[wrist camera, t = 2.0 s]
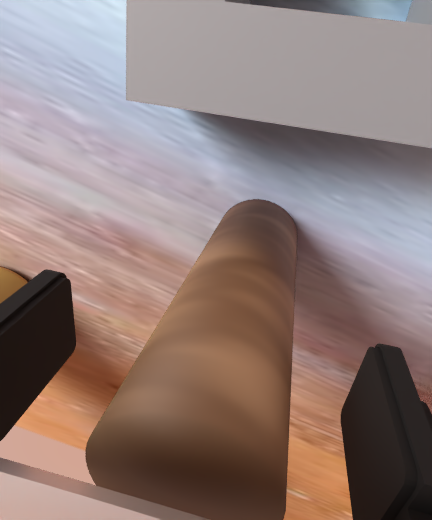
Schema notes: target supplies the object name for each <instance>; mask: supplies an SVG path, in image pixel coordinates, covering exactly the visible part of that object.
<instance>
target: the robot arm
mask: <svg viewBox="0 0 432 520" xmlns="http://www.w3.org/2000/svg"><path fill="white" fill-rule="evenodd" d="M75 346H76V336H75V325H74V314H73V303H72V292H71V283H70V280H69V279H67V278H66V275H65V274H64V273H61V272H56V271H52V270H44V271H42V272H41V273H40V274H38V275H37V276H36V277H34V278H33V279H32V280H30V281H29V282H28V283H27V284H25V285H24V286H23V287H21V288H20V289H19V290H17V291H16V292H15V293H13V294H12V295H11V296H10V297H8V298H7V299H6V300H4V301H3V302H2V303H0V441H1V440H2V439H3V438H4V437H5V436H6V434H7V433H8V432H9V431H10V429H11V428H12V427H13V426H14V425H15V423H16V422H17V421H18V420H19V418H20V417H21V416H22V415H23V414H24V412H25V411H26V410H27V409H28V407H29V406H30V405H31V404H32V402H33V401H34V400H35V399H36V398H37V396H38V395H39V394H40V393H41V391H42V390H43V389H44V388H45V386H46V385H47V384H48V383H49V382H50V380H51V379H52V378H53V377H54V375H55V374H56V373H57V372H58V370H59V369H60V368H61V367H62V366H63V364H64V363H65V362H66V361H67V359H68V358H69V357H70V356H71V354H72V353H73V351H74V349H75ZM341 427H342V435H343V443H344V451H345V459H346V467H347V475H348V483H349V491H350V499H351V507H352V515H353V520H432V415H431V412H430V410H429V408H428V406H427V404H426V403H424V402H423V401H420V398H419V396H418V393H417V390H416V388H415V385H414V382H413V380H412V377H411V374H410V372H409V369H408V366H407V364H406V361H405V358H404V356H403V353H402V351H401V349H400V348H398V347H393V346H389V345H384V344H380V343H379V344H377V345H376V346H375V348H374V347H369V349H368V350H367V353H366V355H365V357H364V360H363V362H362V364H361V366H360V369H359V371H358V373H357V376H356V378H355V380H354V382H353V385H352V387H351V389H350V392H349V394H348V396H347V399H346V401H345V403H344V405H343V408H342V411H341ZM0 520H209V519H206V518H203V517H200V516H196V515H193V514H190V513H186V512H183V511H180V510H176V509H173V508H170V507H166V506H163V505H160V504H156V503H153V502H149V501H146V500H143V499H139V498H136V497H133V496H129V495H126V494H123V493H119V492H116V491H112V490H109V489H106V488H102V487H99V486H95V485H92V484H89V483H85V482H82V481H79V480H75V479H71V478H69V477H65V476H62V475H58V474H55V473H51V472H48V471H44V470H41V469H38V468H34V467H30V466H27V465H24V464H20V463H17V462H14V461H10V460H7V459H3V458H0Z"/></svg>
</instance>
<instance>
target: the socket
mask: <svg viewBox="0 0 432 520" xmlns="http://www.w3.org/2000/svg"><path fill="white" fill-rule="evenodd" d="M126 100H129V101H135V102H141V103H148V104H154V105H160V106H167V107H173V108H179V109H186V110H192V111H198V112H205V113H211V114H217V115H224V116H230V117H236V118H243V119H249V120H255V121H262V122H268V123H274V124H281V125H287V126H293V127H300V128H306V129H312V130H319V131H325V132H331V133H338V134H344V135H350V136H357V137H363V138H369V139H376V140H382V141H388V142H395V143H401V144H407V145H414V146H420V147H426V148H432V0H412V3H411V6H410V10H409V13H408V16H407V19H406V22H402V21H393V20H385V19H376V18H367V17H358V16H349V15H340V14H331V13H322V12H313V11H305V10H296V9H287V8H278V7H269V6H260V5H251V4H250V0H127V25H126Z"/></svg>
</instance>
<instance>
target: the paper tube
mask: <svg viewBox="0 0 432 520" xmlns="http://www.w3.org/2000/svg"><path fill="white" fill-rule="evenodd" d="M27 283H28V282H27V281H26V280H25V279H24V278H22V277H21V276H20V275H18V274H17V273H15V272H13V271H11V270H9V269H6V268H3V267H0V303H2V302H3V301H4V300H6V299H7V298H8V297H10V296H11V295H12V294H13V293H15V292H16V291H17V290H19V289H20V288H21V287H23V286H24V285H25V284H27Z"/></svg>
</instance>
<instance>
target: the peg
mask: <svg viewBox="0 0 432 520" xmlns="http://www.w3.org/2000/svg"><path fill="white" fill-rule="evenodd" d="M296 256H297V230H296V226H295V224H294V222H293V220H292V218H291V217H290V215H289V214H288V213H287V212H286V211H285V210H284V209H283V208H281V207H280V206H278V205H277V204H275V203H272V202H270V201H266V200H260V199H253V200H247V201H243V202H241V203H238V204H236V205H235V206H233V207H232V208H231V209H229V211H228V212H227V213H226V214H225V215H224V217H223V218H222V220H221V222H220V223H219V225H218V227H217V228H216V230H215V231H214V233H213V235H212V236H211V238H210V240H209V241H208V243H207V245H206V246H205V248H204V250H203V251H202V253H201V254H200V256H199V258H198V259H197V261H196V263H195V264H194V266H193V268H192V269H191V271H190V273H189V274H188V276H187V278H186V279H185V281H184V282H183V284H182V286H181V287H180V289H179V291H178V292H177V294H176V296H175V297H174V299H173V301H172V302H171V304H170V305H169V307H168V309H167V310H166V312H165V314H164V315H163V317H162V319H161V320H160V322H159V324H158V325H157V327H156V329H155V330H154V332H153V333H152V335H151V337H150V338H149V340H148V342H147V343H146V345H145V347H144V348H143V350H142V352H141V353H140V355H139V356H138V358H137V360H136V361H135V363H134V365H133V366H132V368H131V370H130V371H129V373H128V375H127V376H126V378H125V379H124V381H123V383H122V384H121V386H120V388H119V389H118V391H117V393H116V394H115V396H114V398H113V399H112V401H111V403H110V404H109V406H108V407H107V409H106V411H105V412H104V414H103V416H102V417H101V419H100V421H99V422H98V424H97V426H96V427H95V429H94V430H93V432H92V434H91V436H90V438H89V440H88V442H87V446H86V463H87V467H88V470H89V473H90V475H91V477H92V479H93V481H94V483H95V484H96V486H99V487H102V488H106V489H109V490H112V491H116V492H119V493H123V494H126V495H129V496H133V497H136V498H139V499H143V500H146V501H149V502H153V503H156V504H160V505H163V506H166V507H170V508H173V509H176V510H180V511H183V512H186V513H190V514H193V515H196V516H200V517H203V518H206V519H209V520H283V518H284V515H285V511H286V488H287V465H288V442H289V419H290V395H291V372H292V349H293V326H294V302H295V279H296Z"/></svg>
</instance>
